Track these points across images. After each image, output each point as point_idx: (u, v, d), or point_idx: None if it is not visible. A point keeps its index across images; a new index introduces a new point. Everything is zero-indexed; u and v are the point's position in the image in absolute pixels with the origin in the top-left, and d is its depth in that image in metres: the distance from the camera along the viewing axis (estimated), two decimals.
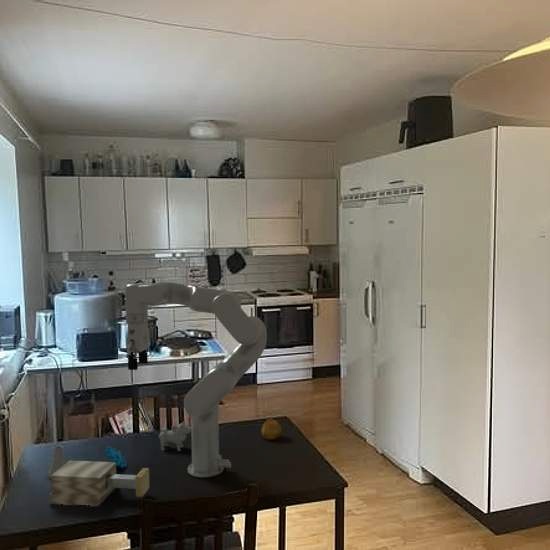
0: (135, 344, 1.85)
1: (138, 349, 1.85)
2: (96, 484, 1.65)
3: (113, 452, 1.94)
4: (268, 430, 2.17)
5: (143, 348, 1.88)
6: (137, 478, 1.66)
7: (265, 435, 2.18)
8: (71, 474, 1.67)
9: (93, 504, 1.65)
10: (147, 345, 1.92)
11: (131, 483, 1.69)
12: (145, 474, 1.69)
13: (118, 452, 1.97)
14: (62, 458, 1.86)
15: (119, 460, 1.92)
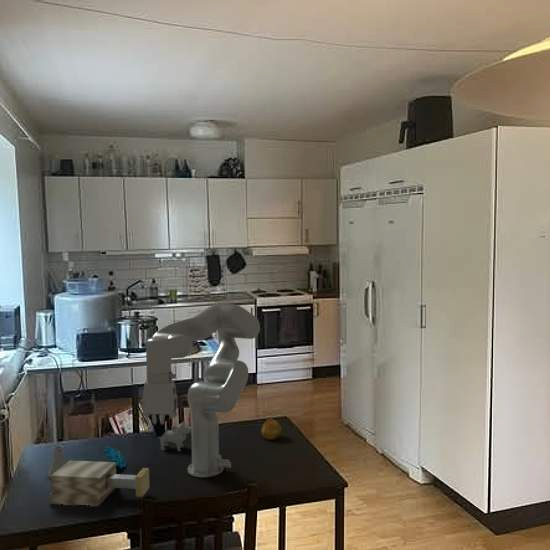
0: (176, 402, 1.68)
1: None
2: (96, 484, 1.65)
3: (112, 452, 1.94)
4: (268, 430, 2.17)
5: None
6: (137, 478, 1.66)
7: (265, 435, 2.18)
8: (71, 474, 1.67)
9: (93, 504, 1.65)
10: None
11: (131, 483, 1.69)
12: (145, 474, 1.69)
13: (118, 452, 1.97)
14: (62, 458, 1.86)
15: (118, 460, 1.92)
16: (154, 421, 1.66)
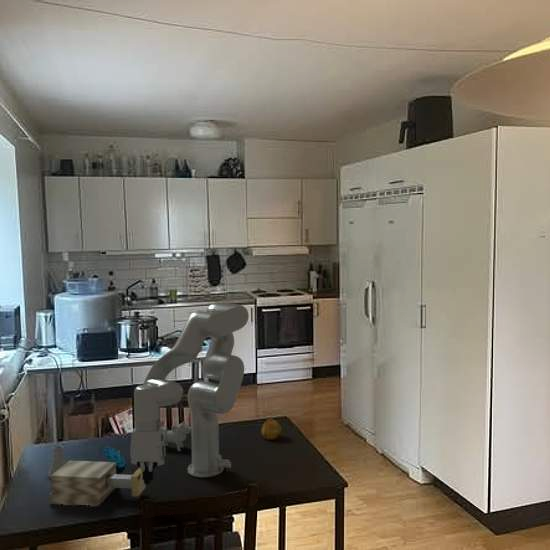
0: (164, 449, 1.69)
1: None
2: (96, 484, 1.65)
3: (112, 452, 1.94)
4: (268, 430, 2.17)
5: None
6: (133, 478, 1.67)
7: (265, 435, 2.18)
8: (71, 474, 1.67)
9: (93, 504, 1.65)
10: None
11: (127, 483, 1.69)
12: (141, 474, 1.70)
13: (117, 452, 1.97)
14: (62, 458, 1.86)
15: (117, 460, 1.92)
16: (142, 468, 1.68)
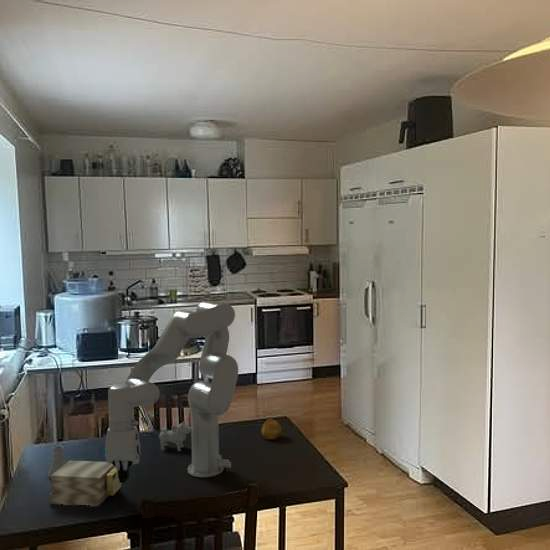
0: (139, 448, 1.70)
1: (140, 452, 1.71)
2: (96, 484, 1.65)
3: None
4: (268, 430, 2.17)
5: None
6: (108, 477, 1.68)
7: (265, 435, 2.18)
8: (71, 474, 1.67)
9: (93, 504, 1.65)
10: None
11: None
12: (116, 473, 1.71)
13: None
14: (62, 458, 1.86)
15: None
16: (117, 467, 1.69)
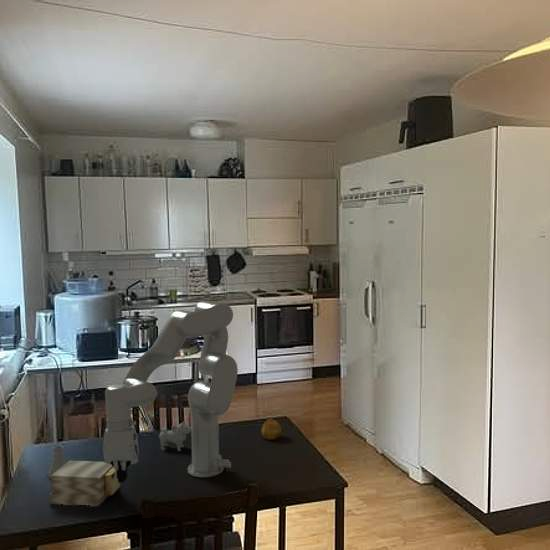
0: (137, 448, 1.71)
1: (138, 452, 1.72)
2: (96, 484, 1.65)
3: None
4: (268, 430, 2.17)
5: None
6: (107, 477, 1.68)
7: (265, 435, 2.18)
8: (71, 474, 1.67)
9: (93, 504, 1.65)
10: None
11: None
12: (115, 473, 1.71)
13: None
14: (62, 458, 1.86)
15: None
16: (116, 467, 1.69)
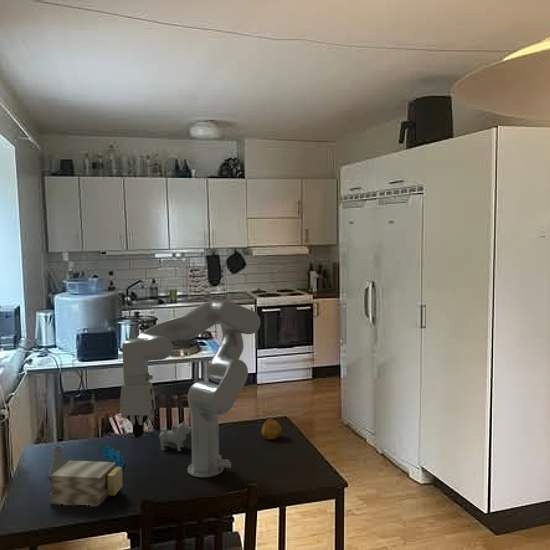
0: (154, 403, 1.69)
1: None
2: (96, 484, 1.65)
3: (111, 452, 1.94)
4: (268, 430, 2.17)
5: None
6: (109, 477, 1.67)
7: (265, 435, 2.18)
8: (71, 474, 1.67)
9: (93, 504, 1.65)
10: None
11: None
12: (118, 473, 1.71)
13: (117, 452, 1.98)
14: (62, 458, 1.86)
15: (116, 460, 1.92)
16: (132, 422, 1.68)
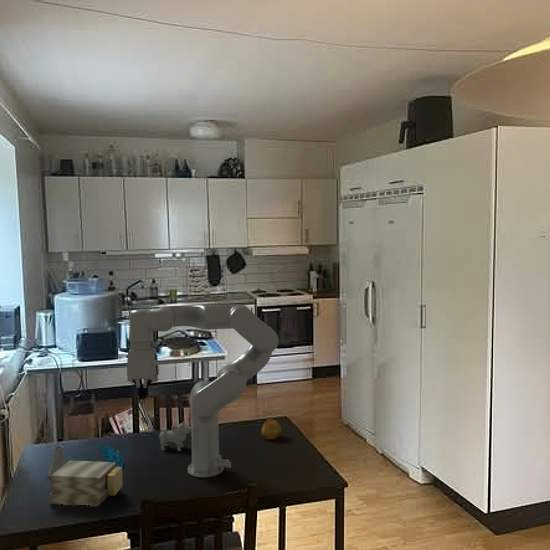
0: (158, 368, 1.85)
1: (158, 373, 1.86)
2: (96, 484, 1.65)
3: (110, 452, 1.94)
4: (268, 430, 2.17)
5: None
6: (109, 477, 1.67)
7: (265, 435, 2.18)
8: (71, 474, 1.67)
9: (93, 504, 1.65)
10: None
11: None
12: (118, 473, 1.71)
13: (117, 452, 1.98)
14: (62, 458, 1.86)
15: (115, 460, 1.92)
16: (137, 385, 1.83)
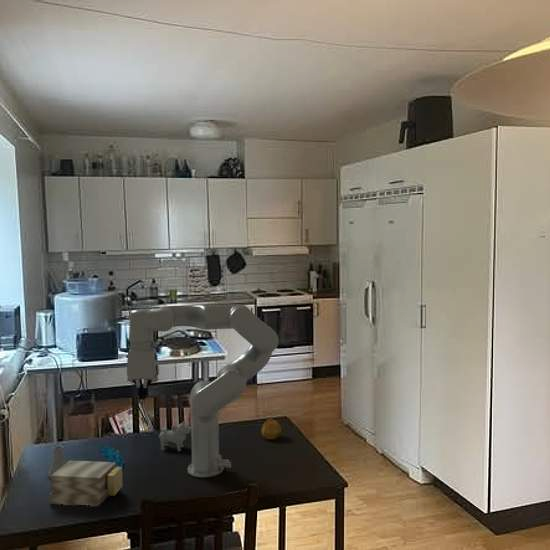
0: (158, 368, 1.85)
1: (158, 373, 1.86)
2: (96, 484, 1.65)
3: (110, 452, 1.94)
4: (268, 430, 2.17)
5: None
6: (109, 477, 1.67)
7: (265, 435, 2.18)
8: (71, 474, 1.67)
9: (93, 504, 1.65)
10: None
11: None
12: (118, 473, 1.71)
13: (117, 452, 1.98)
14: (62, 458, 1.86)
15: (115, 460, 1.92)
16: (137, 385, 1.83)
